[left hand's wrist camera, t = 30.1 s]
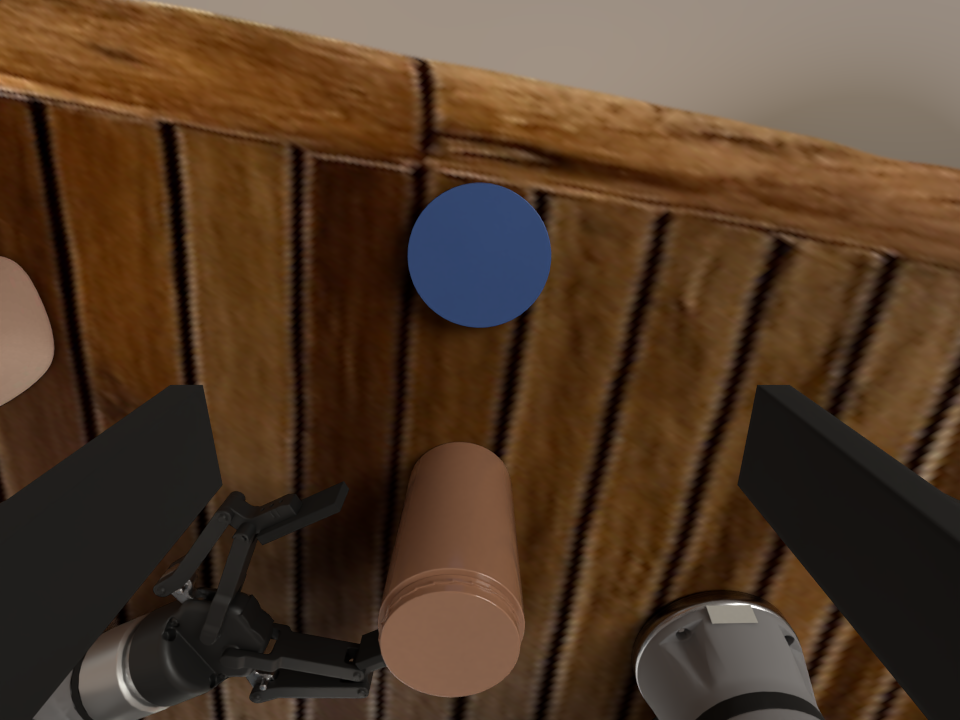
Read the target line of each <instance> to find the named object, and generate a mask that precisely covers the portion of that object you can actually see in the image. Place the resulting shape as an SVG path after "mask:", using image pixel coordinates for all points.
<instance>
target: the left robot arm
mask: <svg viewBox="0 0 960 720" xmlns="http://www.w3.org/2000/svg"><path fill="white" fill-rule="evenodd" d="M221 486H222V480H221V475H220V470H219V465H218V460H217V455H216V450H215V445H214V440H213V435H212V430H211V424H210V419H209V414H208V409H207V404H206V399H205V394H204V389H203V385H170V386H168V387H167V388H166V389H164V390H163V391H161V392H160V393H158V394H157V395H156V396H154V397H153V398H151V399H150V400H148V401H147V402H146V403H144V404H143V405H141V406H140V407H138V408H137V409H136V410H134V411H133V412H131V413H130V414H128V415H127V416H126V417H124V418H123V419H121V420H120V421H119V422H117V423H116V424H114V425H113V426H111V427H110V428H109V429H107V430H106V431H104V432H103V433H101V434H100V435H99V436H97V437H96V438H94V439H93V440H91V441H90V442H89V443H87V444H86V445H84V446H83V447H81V448H80V449H79V450H77V451H76V452H74V453H73V454H71V455H70V456H69V457H67V458H66V459H64V460H63V461H62V462H60V463H59V464H57V465H56V466H54V467H53V468H52V469H50V470H49V471H47V472H46V473H44V474H43V475H42V476H40V477H39V478H37V479H36V480H34V481H33V482H32V483H30V484H29V485H27V486H26V487H24V488H23V489H22V490H20V491H19V492H17V493H16V494H15V495H13V496H12V497H10V498H9V499H7V500H6V501H4V502H1V503H0V720H32V719H33V718H34V716H35V715H36V714H37V713H38V711H39V710H40V709H41V708H42V706H43V705H44V704H45V703H46V702H47V700H48V699H49V698H50V697H51V695H52V694H53V693H54V692H55V690H56V689H57V688H58V687H59V686H60V684H61V683H62V682H63V681H64V679H65V678H66V677H67V676H68V674H69V673H70V672H71V671H72V670H73V668H74V667H75V666H76V665H77V663H78V662H79V661H80V660H81V658H82V657H83V656H84V655H85V654H86V652H87V651H88V650H89V649H90V647H91V646H92V645H93V644H94V642H95V641H96V640H97V639H98V637H99V636H100V635H101V634H102V633H103V631H104V630H105V629H106V628H107V626H108V625H109V624H110V623H111V621H112V620H113V619H114V618H115V617H116V615H117V614H118V613H119V612H120V610H121V609H122V608H123V607H124V605H125V604H126V603H127V602H128V601H129V599H130V598H131V597H132V596H133V594H134V593H135V592H136V591H137V589H138V588H139V587H140V586H141V585H142V583H143V582H144V581H145V580H146V578H147V577H148V576H149V575H150V573H151V572H152V571H153V570H154V569H155V567H156V566H157V565H158V564H159V562H160V561H161V560H162V559H163V557H164V556H165V555H166V554H167V553H168V551H169V550H170V549H171V548H172V546H173V545H174V544H175V543H176V541H177V540H178V539H179V538H180V537H181V535H182V534H183V533H184V532H185V530H186V529H187V528H188V527H189V525H190V524H191V523H192V522H193V521H194V519H195V518H196V517H197V516H198V514H199V513H200V512H201V511H202V509H203V508H204V507H205V506H206V505H207V503H208V502H209V501H210V500H211V498H212V497H213V496H214V495H215V493H216V492H217V491H218V490H219V489H220V487H221ZM738 486H739V487H740V489H741V490H742V491H743V492H744V493H745V495H746V496H747V497H748V498H749V500H750V501H751V502H752V503H753V505H754V506H755V507H756V508H757V509H758V511H759V512H760V513H761V514H762V516H763V517H764V518H765V519H766V521H767V522H768V523H769V524H770V525H771V527H772V528H773V529H774V530H775V532H776V533H777V534H778V535H779V537H780V538H781V539H782V540H783V541H784V543H785V544H786V545H787V546H788V548H789V549H790V550H791V551H792V553H793V554H794V555H795V556H796V557H797V559H798V560H799V561H800V562H801V564H802V565H803V566H804V567H805V569H806V570H807V571H808V572H809V573H810V575H811V576H812V577H813V578H814V580H815V581H816V582H817V583H818V585H819V586H820V587H821V588H822V589H823V591H824V592H825V593H826V594H827V596H828V597H829V598H830V599H831V601H832V602H833V603H834V604H835V605H836V607H837V608H838V609H839V610H840V612H841V613H842V614H843V615H844V617H845V618H846V619H847V620H848V621H849V623H850V624H851V625H852V626H853V628H854V629H855V630H856V631H857V633H858V634H859V635H860V636H861V637H862V639H863V640H864V641H865V642H866V644H867V645H868V646H869V647H870V649H871V650H872V651H873V652H874V654H875V655H876V656H877V657H878V658H879V660H880V661H881V662H882V663H883V665H884V666H885V667H886V668H887V670H888V671H889V672H890V673H891V674H892V676H893V677H894V678H895V679H896V681H897V682H898V683H899V684H900V686H901V687H902V688H903V689H904V690H905V692H906V693H907V694H908V695H909V697H910V698H911V699H912V700H913V702H914V703H915V704H916V705H917V706H918V708H919V709H920V710H921V711H922V713H923V714H924V715H925V716H926V718H927V719H928V720H960V501H959V500H957V499H955V498H953V497H951V496H949V495H947V494H944V493H943V492H941V491H940V490H938V489H937V488H936V487H934V486H933V485H931V484H930V483H928V482H927V481H926V480H924V479H923V478H921V477H920V476H918V475H917V474H916V473H914V472H913V471H911V470H910V469H908V468H907V467H906V466H904V465H903V464H901V463H900V462H898V461H897V460H896V459H894V458H893V457H891V456H890V455H889V454H887V453H886V452H884V451H883V450H881V449H880V448H879V447H877V446H876V445H874V444H873V443H871V442H870V441H869V440H867V439H866V438H864V437H863V436H861V435H860V434H859V433H857V432H856V431H854V430H853V429H851V428H850V427H849V426H847V425H846V424H844V423H843V422H841V421H840V420H839V419H837V418H836V417H834V416H833V415H832V414H830V413H829V412H827V411H826V410H824V409H823V408H822V407H820V406H819V405H817V404H816V403H814V402H813V401H812V400H810V399H809V398H807V397H806V396H804V395H803V394H802V393H800V392H799V391H797V390H796V389H794V388H793V387H792V386H790V385H757V389H756V394H755V399H754V404H753V409H752V414H751V419H750V424H749V430H748V435H747V440H746V445H745V450H744V455H743V460H742V465H741V470H740V475H739V480H738ZM632 666H633V671H634V674H635V677H636V681H637V684H638V687H639V690H640V692H641V694H642V696H643V697H644V699H645V700H646V702H647V703H648V705H649V706H650V708H652V710H653V711H654V713H655V714H656V716H657V717H656V718H654V719H653V720H825V719H824V717H823V716H822V714H821V713H820V711H819V709H818V707H817V704H816V701H815V697H814V693H813V689H812V686H811V682H810V678H809V675H808V671H807V667H806V664H805V660H804V656H803V653H802V649H801V646H800V643H799V640H798V638H797V636H796V634H795V632H794V631H793V629H792V628H791V626H790V625H789V623H788V622H787V620H786V619H785V618H784V616H783V615H782V613H781V612H780V611H779V610H778V609H777V608H776V607H774V606H773V605H772V604H770V603H769V602H767V601H765V600H763V599H762V598H759V597H757V596H754V595H751V594H748V593H743V592H737V591H710V592H703V593H698V594H695V595H691V596H688V597H685V598H682V599H680V600H678V601H676V602H674V603H672V604H670V605H668V606H666V607H665V608H663V609H662V610H660V611H659V612H658V613H657V614H655V615H654V616H653V617H652V618H651V619H650V620H649V621H648V622H647V623H646V624H645V625H644V627H643V628H642V629H641V631H640V633H639V634H638V636H637V638H636V640H635V643H634V646H633V651H632Z"/></svg>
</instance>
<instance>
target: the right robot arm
mask: <svg viewBox="0 0 960 720" xmlns="http://www.w3.org/2000/svg"><path fill="white" fill-rule="evenodd" d="M348 491H349V488H348V487H347V485H346V484H345V482H344V481H343V482H341V483H339V484H337V485H334V486H332V487H330V488H328V489H325V490H323V491H321V492H319V493H316V494H314V495H312V496H310V497H307V498H305V499H303V500H300V499H299V498H298V496H297V495H296V494H287V495H285V496H283V497H281V498H279V499H276V500H274V501H272V502H270V503H267V504H265V505H263V506H260V507H259V506H255V507H254V506H252V505H250V504H248V503H247V502H245V496H244V494H242V493H241V492H238V491H234V492H232V493H231V494H230V495H229V496H228V497H227V499H226V500H225V501H224V503H223V504H222V505H221V507H220V508H219V509H218V510H217V512H216V513H215V514H214V516H213V517H212V519H211V520H210V522H209V523H208V524H207V526H206V527H205V529H204V530H203V532H202V533H201V535H200V536H199V537H198V539H197V540H196V542H195V543H194V545H193V546H192V548H191V549H190V550H189V552H188V553H187V555H185V556H184V557H182V558H180V559H178V560H177V561H175V562H173V563H172V564H171V566H170V567H169V568H168V569H167V571H166V572H165V573H164V575H163V576H162V577H161V578H160V580H159V581H158V582H157V584H156V585H155V586H154V588H153V591H154V593H155V594H156V595H157V596H160V597H166V596H168V595H170V594H172V595H173V596H174V597H175V598H176V599H177V600H176V601H174V602H172V603H169V604H167V605H165V606H162V607H160V608H158V609H156V610H154V611H152V612H150V613H148V614H145V615H143V616H140V617H138V618H135V619H133V620H131V621H128V622H126V623H124V624H121V625H119V626H117V627H114V628H112V629H110V630H108V631H105V632H103V633H102V634H101V635H100V636H99V637H98V639H97V640H96V641H95V642H94V644H93V645H92V646H91V647H90V649H89V650H88V651H87V652H86V654H85V655H84V656H83V657H82V658H81V660H80V661H79V662H78V663H77V665H76V666H75V667H74V668H73V670H72V671H71V672H70V673H69V674H68V676H67V677H66V678H65V679H64V681H63V682H62V683H61V684H60V686H59V687H58V688H57V689H56V690H55V692H54V693H53V694H52V695H51V697H50V698H49V699H48V700H47V702H46V703H45V704H44V705H43V706H42V708H41V709H40V710H39V711H38V713H37V714H36V715H35V716H34V718H33V719H32V720H137V719H140V718H143V717H146V716H148V715H151V714H154V713H156V712H159V711H162V710H164V709H166V708H168V707H170V706H173V705H176V704H179V703H181V702H184V701H186V700H189V699H191V698H194V697H196V696H199V695H201V694H204V693H206V692H208V691H210V690H211V689H213V688H214V687H216V686H217V685H218V684H220V683H221V682H223V681H224V680H225V679H227V678H229V677H246V678H247V679H248V681H249V682H250V684H251V685H252V686H253V689H252V691H251V694H250V697H249V698H250V700H251V701H252V702H254V703H262V702H265V701H269V700H273V699H276V698H365V697H367V696H368V694H369V689H370V685H371V680H372V676H373V671H375V670H377V669H380V668H383V667H385V666H387V665H386V664H385V662H384V660H383V657H382V655H381V650H380V645H379V640H378V638H379V631H378V630H375V631H372V632H370V633H367V634H365V635H362V639H361V643H360V644H357V643H351V642H346V641H340V640H335V639H329V638H324V637H319V636H313V635H308V634H302V633H297V632H292V631H291V629H290V627H289V626H287V625H282V624H277V623H273V622H274V620H273V619H272V618H271V617H270V615H269V614H267V613H266V612H265V611H263V610H262V609H261V608H260V605H259V603H258V601H257V600H256V598H255V597H254V596H253V595H250V596H248V595H247V594H245V593H242V592H241V589H242V586H243V583H244V580H245V577H246V572H247V569H248V566H249V563H250V560H251V557H252V554H253V551H254V549H255V546H256V543H257V540H259V541H260V543H261V544H262V545H264V544H266V543H269V542H271V541H273V540H275V539H278V538H280V537H282V536H285V535H287V534H289V533H292V532H294V531H296V530H298V529H301V528H303V527H305V526H308V525H310V524H312V523H314V522H317V521H319V520H321V519H324V518H326V517H328V516H331V515H333V514H335V513H337V512H340V510H341V508H342V505H343V503H344V500H345V498H346V495H347V493H348ZM228 525H231V526H232V527H234V528H235V529H237V531H236V533H235V534H234V536H233V537H232V538H234V541H233V544H232V547H231V550H230V553H229V556H228V559H227V562H226V565H225V568H224V571H223V574H222V577H221V580H220V583H219V586H218V589H213V588H205V587H200V588H195V586H194V584H195V582H196V581H197V579H198V575H197V572H198V571H199V570H198V567H199V566H200V564H201V563H202V561H203V560H204V559H205V557H206V556H207V554H208V553H209V552H210V550H211V549H212V547H213V546H214V544H215V543H216V542H217V540H218V539H219V537H220V536H221V535H222V533H223V532H224V530H225V529H226V528H227V526H228ZM270 639H276V640H277V641H276V643H275V645H274V648H273V650H272V652H271V653H270V654H263V653H264V651H265V649H266V647H267V645H268V643H269V641H270ZM353 658H354V659H353ZM350 659H353V661H349V660H350Z"/></svg>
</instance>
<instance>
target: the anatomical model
mask: <svg viewBox="0 0 960 720" xmlns="http://www.w3.org/2000/svg"><path fill="white" fill-rule="evenodd" d="M53 356H54V339H53V334H52V329H51V325H50V322H49V318H48V316H47V313H46V311H45V308H44V305H43V303H42V301H41V299H40V297H39V294H38V292H37V290H36V288H35V287H34V285H33V283H32V281H31V279H30V278H29V276H28V275H27V274H26V272H25V271H24V270H23V269H22V268H21V267H20V266H19V265H18V264H17V263H15V262H14V261H12V260H10V259H8V258H5V257H2V256H0V406H1V405H3V404H5V403H6V402H8V401H10V400H12V399H13V398H15V397H16V396H18V395H19V394H21V393H22V392H23V391H25V390H26V389H28V388H29V387H30V386H31V385H33V384H34V383H35V382H36V381H37V380H38V379H39V378H40V377H41V376H42V375H43V374H44V373H45V372H46V371H47V370H48V368H49V366H50V364H51V362H52V359H53Z"/></svg>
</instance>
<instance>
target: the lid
mask: <svg viewBox="0 0 960 720" xmlns="http://www.w3.org/2000/svg"><path fill="white" fill-rule="evenodd" d="M550 264H551V247H550V240H549V237H548V233H547V230H546V228H545V225H544V223H543V221H542V220H541V218H540V216H539V215H538V213H537V212H536V211H535V209H534V208H533V207H532V206H531V205H530V204H529V203H528V202H527V201H526V200H525V199H523V198H522V197H521V196H519V195H518V194H517V193H515V192H513V191H511V190H509V189H507V188H505V187H502V186H499V185H495V184H491V183H469V184H463V185H460V186H457V187H454V188H452V189H450V190H448V191H446V192H444V193H442V194H441V195H439V196H438V197H436V198H435V199H434V200H433V201H432V202H431V203H430V204H428V205H427V207H426V208H425V209H424V210H423V211H422V213H421V214H420V216H419V217H418V219H417V220H416V223H415V225H414V227H413V229H412V232H411V235H410V239H409V245H408V267H409V271H410V276H411V279H412V281H413V284H414V286H415V288H416V290H417V292H418V294H419V295H420V297H421V298H422V299H423V301H424V302H425V303H426V304H427V305H428V306H429V307H430V308H431V309H432V310H433V311H434V312H435V313H437V314H438V315H440V316H441V317H443V318H445V319H447V320H449V321H451V322H453V323H456V324H459V325H462V326H467V327H476V328H481V327H491V326H497V325H500V324H503V323H506V322H508V321H510V320H512V319H514V318H516V317H517V316H519V315H521V314H522V313H523V312H524V311H526V310H527V309H528V308H529V307H530V306H531V305H532V304H533V303H534V302H535V300H536V299H537V298H538V296H539V295H540V293H541V291H542V290H543V288H544V286H545V283H546V281H547V278H548V274H549V271H550Z"/></svg>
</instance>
